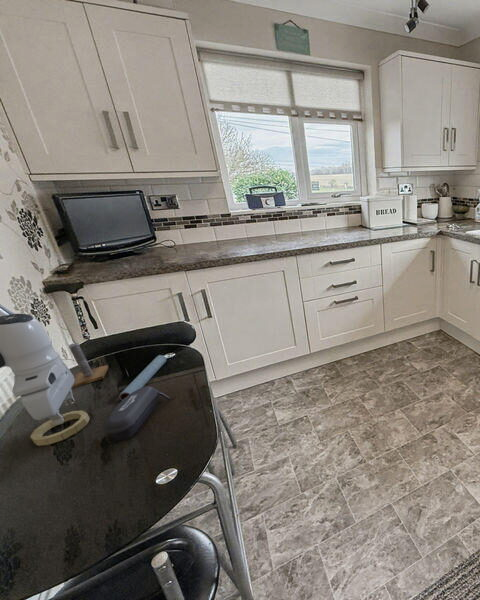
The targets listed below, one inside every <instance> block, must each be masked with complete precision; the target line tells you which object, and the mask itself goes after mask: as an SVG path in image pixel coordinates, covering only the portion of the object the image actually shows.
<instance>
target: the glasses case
mask: <svg viewBox="0 0 480 600" xmlns="http://www.w3.org/2000/svg"><path fill="white" fill-rule="evenodd" d="M160 396H162V397H163V398H165V399H167V400H169V401H170V400H171V397H169V396H168V395H167V394H165V393H163V392H161V391H160V390H158V389H156V388H154V386H148V385H147V386H143V387H142V388H140V389H138V390H136V391H134V392H132V393H131V394H130V395H128V396H127V397H126V398H124V399H123V400H121V401H120V402H119V403H118V404H117V405H115V407H114V408H113V410H111V412H110V413H109V415H108V417H107V418H106V421H105V422H104V425H103V426H104V427H103V431H104V433H105V434H106V435H108V436H111V437H112V438H113V439H114V440H116V441H117V442H119V441H120V442H121V441H125V440H128V439H130V438H132V437H133V436H134V435H136V433H137V432H138V430H139V429H140V428H141V427H142V426H143V424H144V423H145V422H146V420H147V419H148V418H149V416H150V415H151V414H153V411H154V410H155V409H156V408H157V406H158V403H159V397H160Z"/></svg>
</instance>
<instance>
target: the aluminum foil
mask: <svg viewBox="0 0 480 600" xmlns="http://www.w3.org/2000/svg"><path fill="white" fill-rule="evenodd" d="M166 363H167V357H166V356H165V355H162V354H159V355H157V356H156V357H155V358H154V359H152V361H151V362H150V363H149V364H148V365H147V366H146V367H145V368H144V369H143V370H142V371H141V372H140V373H139V374H138V375H137V376H136V377H135V378H134V379H133V380H132V381H131V382H130V383H129V384H128V386H126V387H125V388H124V389H123V390H122V391H121V392H120V393H119V395H118V398H119V399H120V400H121V401H122V400H123V399H124V398H126V397H127V396H128V395H130V394H131V393H132V392H134V391H136V390H138V389H140V388H142V387H145V385H146V384H147V383H148V382H149V381H150V380H151V379H152V378H153V377H154V375H156V373H157V372H158V371H159V370H160V368H162V367H163V365H164V364H166Z"/></svg>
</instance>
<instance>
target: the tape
mask: <svg viewBox="0 0 480 600" xmlns="http://www.w3.org/2000/svg"><path fill="white" fill-rule="evenodd" d="M61 415H64V418H65V421H64V423H65V422H69V421H72V420H77V421H75V422H74V423H73V424H72V425H70V426H69V427H67V428H65V429H63V430H61V431H58V432H55V433H53V434H50V435H45V434H46V433H47V432H49V431H50V430H51V429H52V428H54V427H56V426H58V425H55V424H54V422H53V421H52V420H50V419H49V420H47V421H45V422H43V423H42V424H41V425H39V426H38V427H36V428H35V429H34V430H33V431H32V433H31V434H30V436H29V437H30V439H31V441H32V443H33V444H35V445H36V446H39V447H40V446H48V445H51V444H55V443H59V442H62V441H63V440H66V439H68V438H69V437H72V436H73V435H75V434H77V433H78V432H80V431H81V430H82V429H83V428H85V427H86V426H87V425H88V424H89V421H90V415H88V413H87V412H86V411H85V410H84V409H83V410H71V411H69V412H65V413H62V414H61Z"/></svg>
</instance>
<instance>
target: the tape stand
mask: <svg viewBox="0 0 480 600" xmlns="http://www.w3.org/2000/svg"><path fill="white" fill-rule="evenodd" d="M68 348H69V350H70V353H71V354H72V356H73V358H74V360H75V362H76V364H77V367H78V368H79V370H80V371H81V372H77V373H74V374H73V376H74V379H75V382H74V384H73V386H72V387H71V389H73V388H75V387H79V386H84V385H86V384H89V383H93V382H96V381H100V380H103V379H104V378H105V376H106V374H107V372H108V369H109V365H108V364H106V365H102V366H98V367H94V368H91V366H90V365H89V362H88V360H87V358H86V356H85V354H84V352H83V350H82V348H81V347H80V344H79V342H74V343H73V342H72V343H71V344H69V345H68Z"/></svg>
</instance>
